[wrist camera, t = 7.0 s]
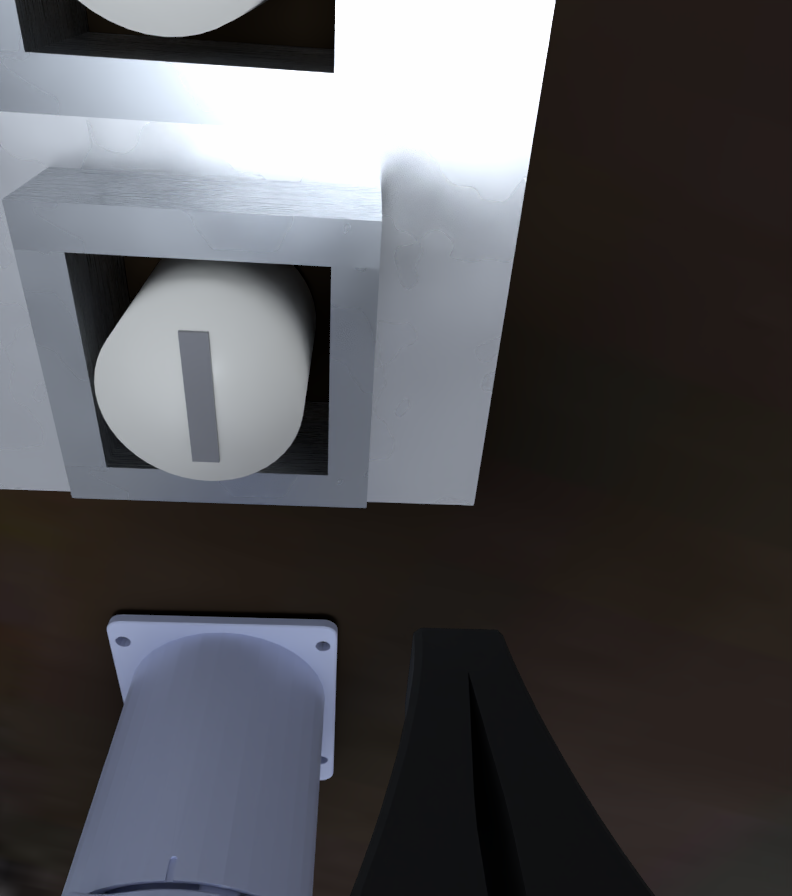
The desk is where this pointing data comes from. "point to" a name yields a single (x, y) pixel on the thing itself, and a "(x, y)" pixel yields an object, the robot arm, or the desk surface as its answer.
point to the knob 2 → (210, 367)
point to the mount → (270, 230)
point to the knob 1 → (171, 14)
